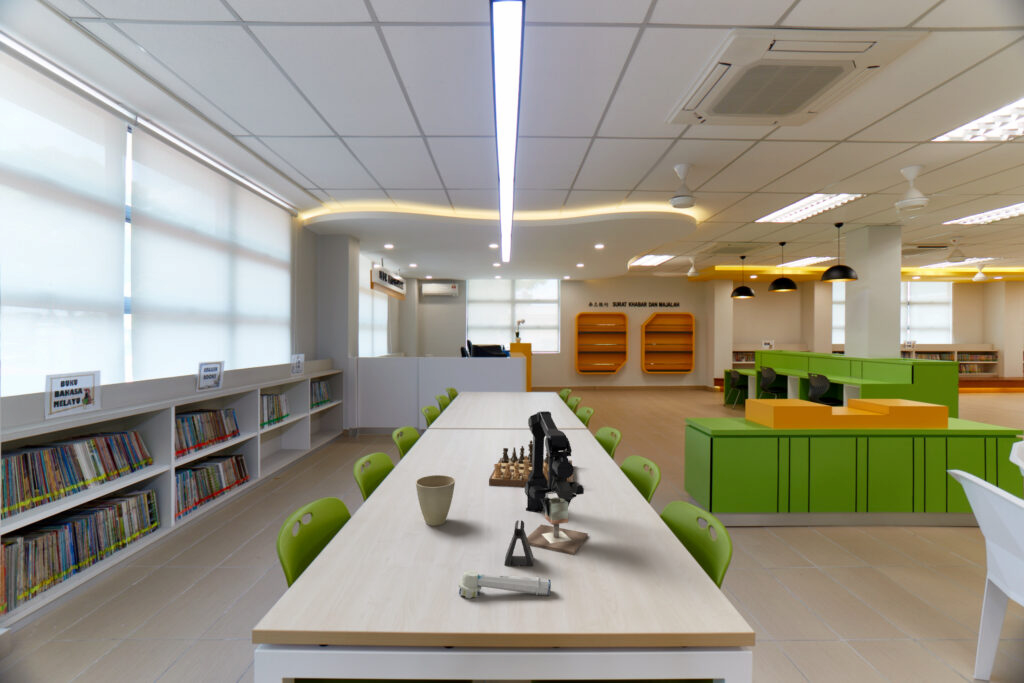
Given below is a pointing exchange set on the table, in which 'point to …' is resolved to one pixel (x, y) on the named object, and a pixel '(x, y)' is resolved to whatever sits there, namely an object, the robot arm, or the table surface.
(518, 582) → the toothbrush head
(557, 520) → the sleeve
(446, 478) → the plant pot
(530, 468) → the chess set
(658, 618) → the table surface
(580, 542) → the pin board
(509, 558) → the phone stand
